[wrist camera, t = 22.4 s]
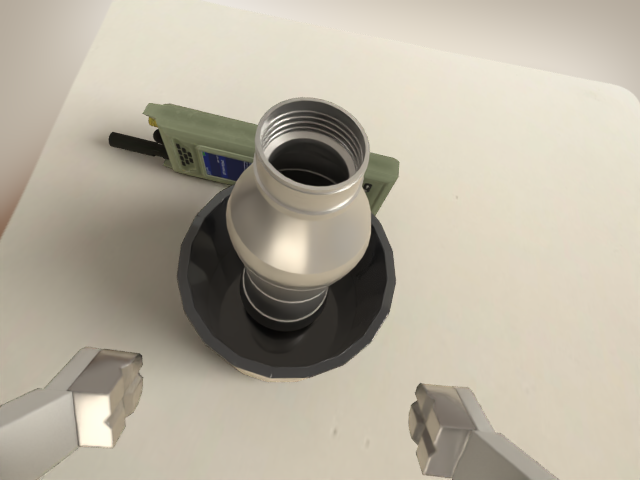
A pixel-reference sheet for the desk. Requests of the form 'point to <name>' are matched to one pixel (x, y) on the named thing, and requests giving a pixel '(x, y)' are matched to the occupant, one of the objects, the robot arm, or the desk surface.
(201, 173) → the handheld radio
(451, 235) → the desk surface
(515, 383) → the desk surface
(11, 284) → the desk surface
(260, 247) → the metal bottle
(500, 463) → the robot arm
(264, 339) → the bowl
